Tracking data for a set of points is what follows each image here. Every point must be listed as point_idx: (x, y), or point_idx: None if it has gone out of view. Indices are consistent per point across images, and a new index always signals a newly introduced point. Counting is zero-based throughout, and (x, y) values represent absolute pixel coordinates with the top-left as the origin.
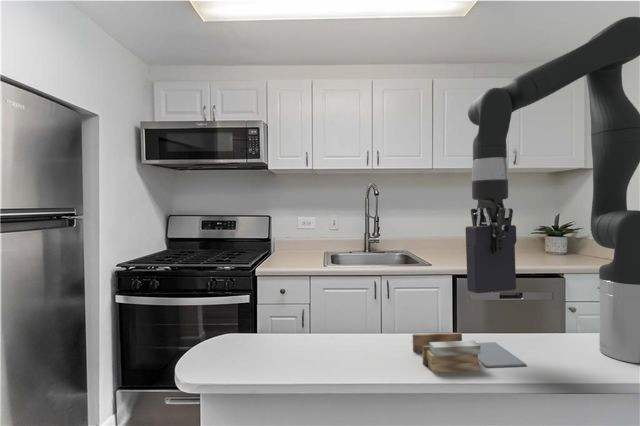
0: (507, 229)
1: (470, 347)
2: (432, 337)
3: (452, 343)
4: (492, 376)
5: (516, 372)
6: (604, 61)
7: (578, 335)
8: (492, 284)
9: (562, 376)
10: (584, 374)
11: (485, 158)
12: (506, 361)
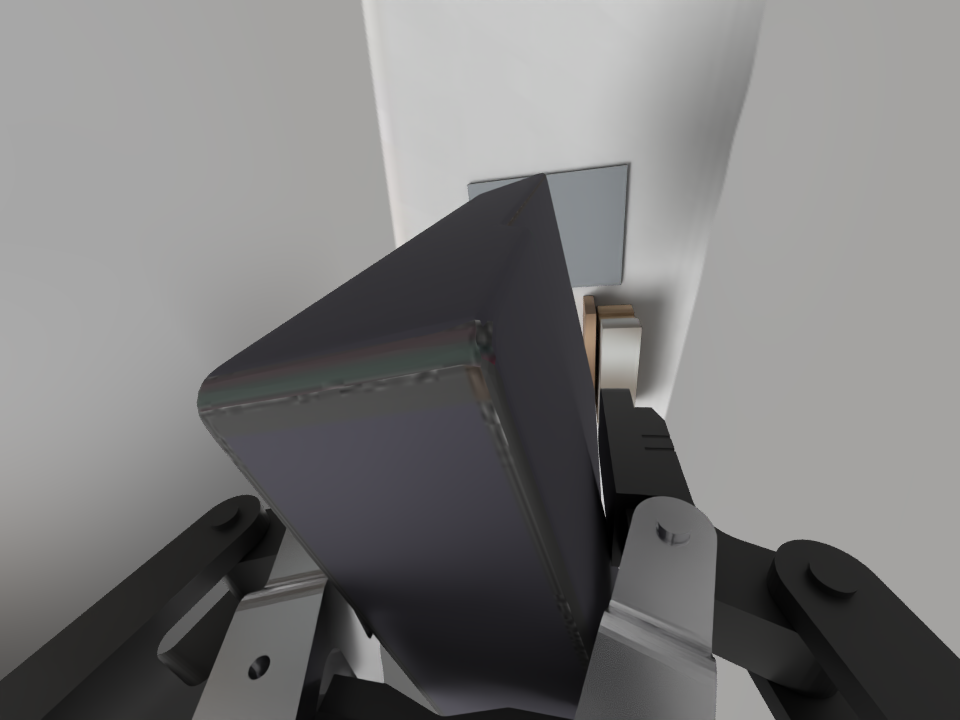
0: (897, 656)
1: (638, 350)
2: None
3: (614, 386)
4: (666, 288)
5: (658, 216)
6: None
7: None
8: (578, 330)
9: (710, 82)
10: None
11: None
12: (604, 218)
